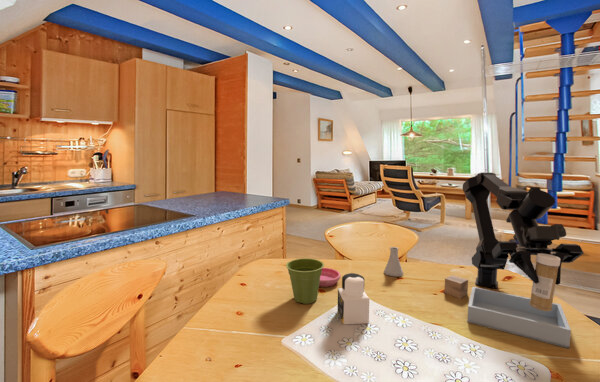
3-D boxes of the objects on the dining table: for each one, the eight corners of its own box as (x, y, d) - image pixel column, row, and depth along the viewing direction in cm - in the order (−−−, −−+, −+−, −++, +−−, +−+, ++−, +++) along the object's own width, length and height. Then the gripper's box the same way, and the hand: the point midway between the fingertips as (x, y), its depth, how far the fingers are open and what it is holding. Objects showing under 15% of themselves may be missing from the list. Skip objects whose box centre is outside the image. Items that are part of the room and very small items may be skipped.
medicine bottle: (337, 311, 86) (337, 271, 85) (361, 310, 87) (362, 270, 85) (342, 325, 79) (343, 281, 78) (369, 323, 80) (370, 280, 78)
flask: (404, 277, 110) (405, 251, 109) (384, 276, 112) (385, 250, 110) (402, 270, 117) (402, 245, 116) (382, 269, 119) (383, 244, 118)
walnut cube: (451, 289, 101) (452, 274, 100) (467, 294, 97) (468, 279, 96) (444, 293, 98) (444, 278, 97) (459, 298, 94) (460, 283, 93)
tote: (471, 300, 92) (472, 286, 92) (559, 320, 81) (560, 304, 81) (467, 321, 80) (468, 306, 80) (569, 348, 69) (571, 330, 68)
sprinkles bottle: (555, 310, 74) (564, 258, 72) (545, 313, 72) (554, 259, 70) (534, 301, 78) (543, 251, 76) (524, 304, 76) (532, 253, 75)
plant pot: (304, 287, 102) (304, 255, 101) (331, 298, 94) (332, 264, 93) (278, 298, 94) (278, 264, 93) (305, 312, 86) (305, 274, 84)
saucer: (313, 272, 116) (313, 265, 115) (344, 278, 111) (344, 269, 110) (300, 285, 105) (300, 276, 104) (334, 291, 99) (334, 282, 99)
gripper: (500, 211, 78) (519, 267, 68) (582, 213, 75) (615, 272, 65) (485, 232, 87) (500, 285, 77) (558, 235, 83) (583, 290, 74)
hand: (547, 283), depth 73 cm, fingers closed on sprinkles bottle, 4 cm apart
